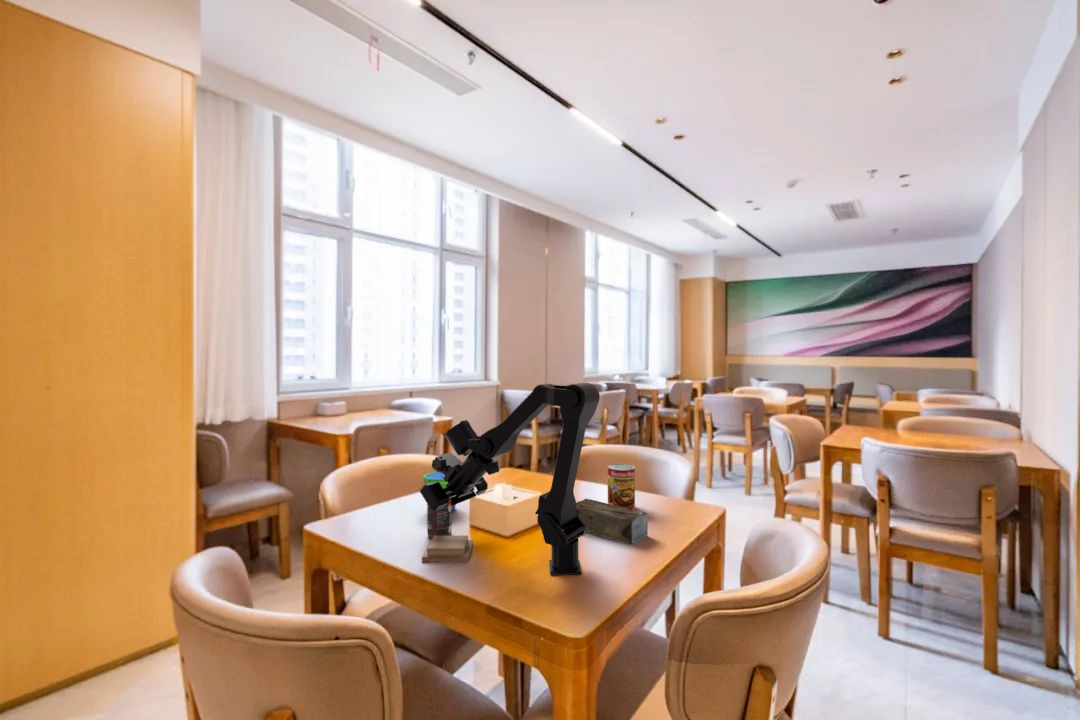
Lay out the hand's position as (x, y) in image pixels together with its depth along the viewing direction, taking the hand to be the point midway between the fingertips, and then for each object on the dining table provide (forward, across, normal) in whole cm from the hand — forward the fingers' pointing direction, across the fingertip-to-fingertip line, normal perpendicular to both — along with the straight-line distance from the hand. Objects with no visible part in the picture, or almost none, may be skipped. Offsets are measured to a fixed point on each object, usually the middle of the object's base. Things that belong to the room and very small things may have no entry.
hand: (438, 508), depth 129 cm
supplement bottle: (+4, 0, +5) cm, 7 cm away
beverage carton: (-19, -25, +29) cm, 43 cm away
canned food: (-15, -46, +25) cm, 54 cm away
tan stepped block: (-2, +7, +12) cm, 14 cm away
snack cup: (+15, -16, -5) cm, 22 cm away
